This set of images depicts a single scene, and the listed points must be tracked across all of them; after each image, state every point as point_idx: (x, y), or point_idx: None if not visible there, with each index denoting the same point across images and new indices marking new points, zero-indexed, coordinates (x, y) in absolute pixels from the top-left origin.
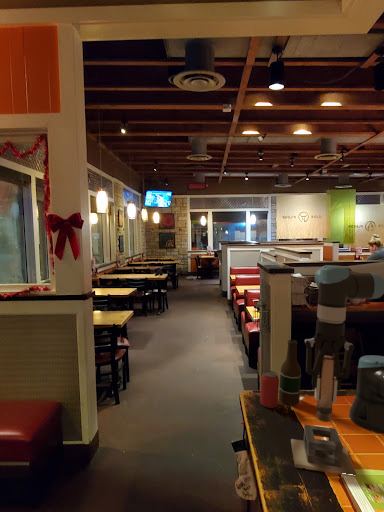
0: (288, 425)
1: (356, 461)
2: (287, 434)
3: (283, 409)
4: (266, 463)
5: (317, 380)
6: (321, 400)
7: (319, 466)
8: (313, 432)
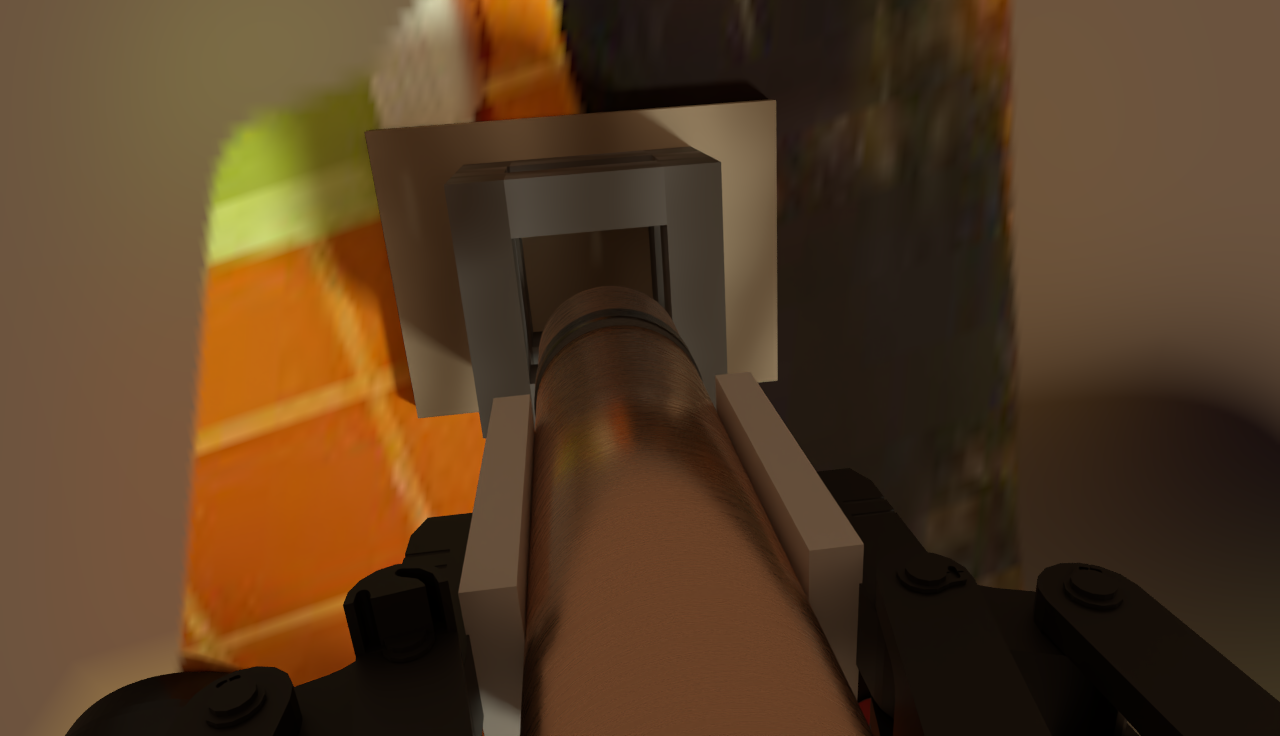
0: None
1: (355, 303)
2: None
3: None
4: (954, 79)
5: (847, 520)
6: (685, 372)
7: (613, 123)
8: None
